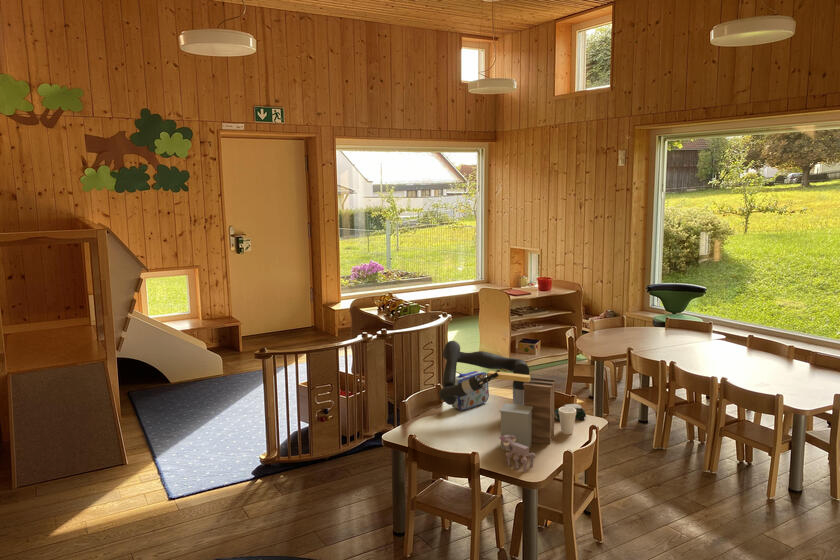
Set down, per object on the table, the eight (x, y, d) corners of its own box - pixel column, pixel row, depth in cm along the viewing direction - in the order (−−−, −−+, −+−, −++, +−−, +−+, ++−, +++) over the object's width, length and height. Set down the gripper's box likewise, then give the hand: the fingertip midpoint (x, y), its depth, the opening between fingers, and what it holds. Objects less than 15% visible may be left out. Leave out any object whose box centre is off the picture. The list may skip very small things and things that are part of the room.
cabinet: (528, 431, 360) (528, 375, 354) (555, 435, 354) (555, 377, 348) (522, 440, 348) (522, 382, 342) (550, 444, 342) (551, 385, 336)
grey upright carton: (505, 440, 348) (505, 403, 345) (532, 444, 343) (532, 406, 339) (499, 449, 338) (499, 410, 335) (528, 453, 333) (528, 414, 329)
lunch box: (459, 414, 387) (458, 379, 383) (447, 409, 395) (446, 375, 391) (490, 402, 405) (490, 369, 401) (479, 398, 412) (478, 365, 408)
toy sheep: (491, 460, 325) (492, 435, 323) (505, 455, 333) (505, 429, 331) (524, 473, 311) (525, 446, 309) (536, 467, 319) (538, 441, 317)
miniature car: (552, 416, 381) (552, 403, 380) (582, 414, 382) (582, 402, 380) (556, 422, 372) (556, 409, 371) (587, 420, 373) (587, 407, 372)
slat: (490, 375, 346) (490, 370, 346) (530, 379, 338) (530, 375, 337) (487, 377, 342) (487, 373, 342) (528, 382, 334) (528, 377, 333)
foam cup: (578, 431, 358) (579, 409, 356) (570, 436, 352) (570, 414, 349) (563, 427, 365) (563, 405, 362) (555, 432, 358) (555, 410, 355)
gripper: (464, 382, 343) (491, 370, 335) (473, 374, 355) (499, 362, 348) (471, 395, 342) (498, 383, 335) (479, 386, 355) (505, 374, 348)
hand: (498, 372), depth 342 cm, fingers closed on slat, 4 cm apart
